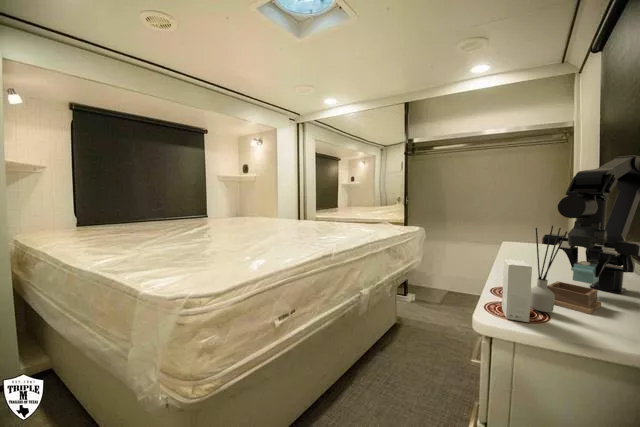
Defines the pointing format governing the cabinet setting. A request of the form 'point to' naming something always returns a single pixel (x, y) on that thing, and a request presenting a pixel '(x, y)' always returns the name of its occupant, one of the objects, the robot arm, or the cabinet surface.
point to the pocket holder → (575, 297)
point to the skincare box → (516, 290)
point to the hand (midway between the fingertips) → (585, 275)
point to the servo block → (585, 272)
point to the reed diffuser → (544, 282)
